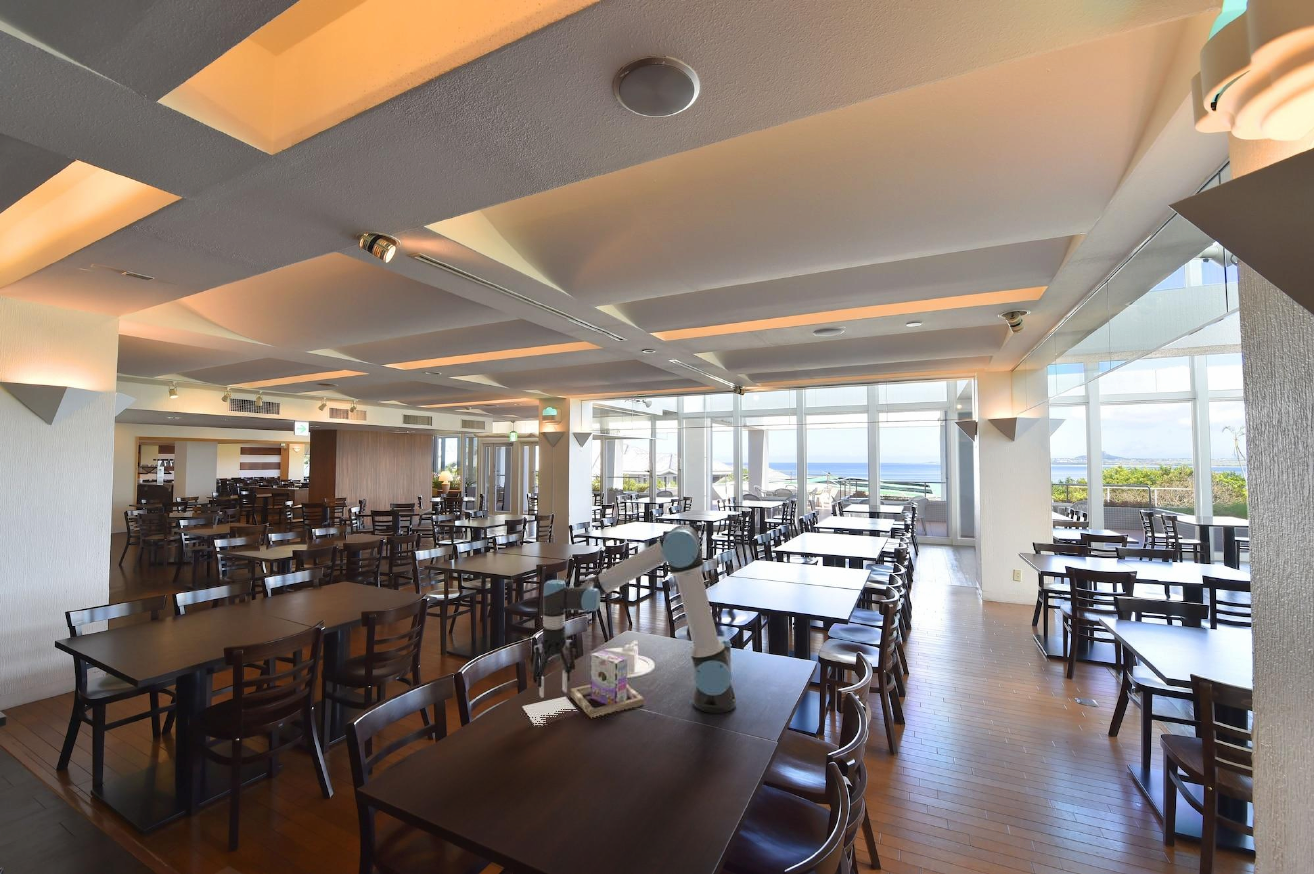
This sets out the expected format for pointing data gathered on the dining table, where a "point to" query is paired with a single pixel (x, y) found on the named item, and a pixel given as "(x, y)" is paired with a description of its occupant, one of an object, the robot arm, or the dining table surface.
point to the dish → (633, 660)
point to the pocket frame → (593, 712)
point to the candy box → (608, 678)
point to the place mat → (547, 709)
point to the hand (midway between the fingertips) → (553, 693)
